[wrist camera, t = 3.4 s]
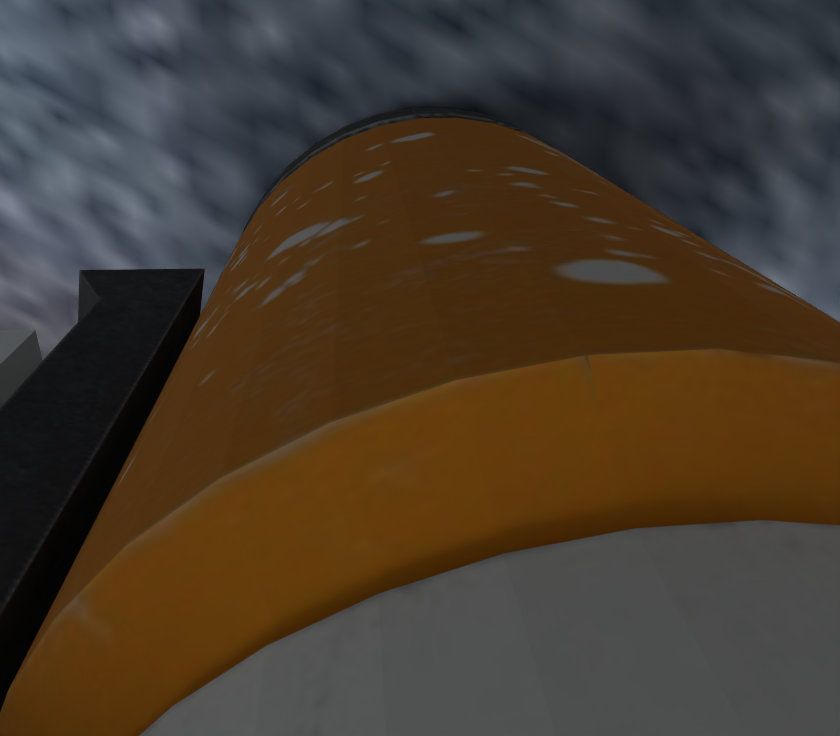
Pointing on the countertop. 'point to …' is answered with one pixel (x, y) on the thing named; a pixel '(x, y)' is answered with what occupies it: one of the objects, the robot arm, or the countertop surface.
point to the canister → (429, 470)
